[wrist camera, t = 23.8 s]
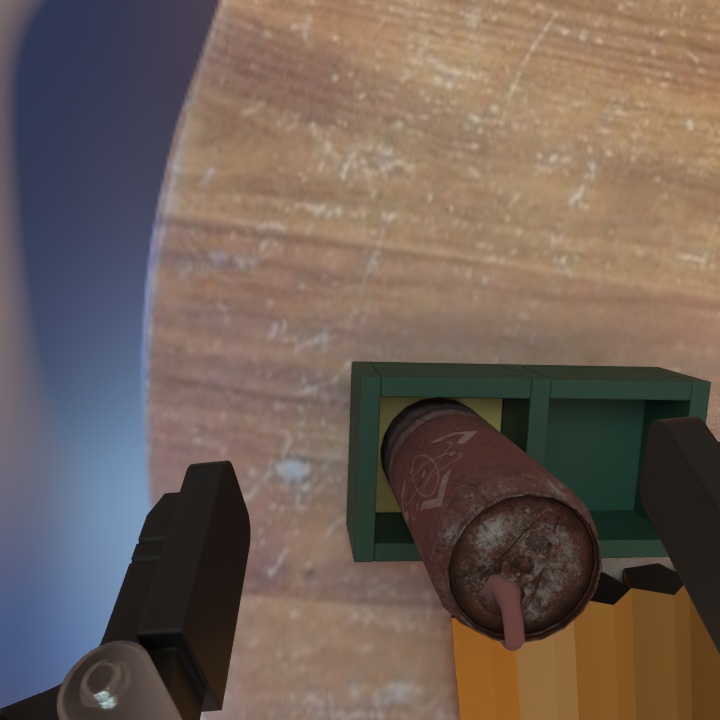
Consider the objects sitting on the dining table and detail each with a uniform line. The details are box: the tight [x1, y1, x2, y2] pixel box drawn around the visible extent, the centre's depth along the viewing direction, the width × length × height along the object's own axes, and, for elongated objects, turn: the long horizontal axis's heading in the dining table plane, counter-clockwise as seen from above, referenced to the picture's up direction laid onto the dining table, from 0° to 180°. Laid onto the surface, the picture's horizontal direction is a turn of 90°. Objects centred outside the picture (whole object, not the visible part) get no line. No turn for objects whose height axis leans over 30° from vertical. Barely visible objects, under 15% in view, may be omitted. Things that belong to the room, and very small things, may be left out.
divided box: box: [346, 362, 711, 562], centre depth 33 cm, size 18×10×5 cm, turn 88°
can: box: [381, 397, 602, 651], centre depth 28 cm, size 6×6×14 cm
